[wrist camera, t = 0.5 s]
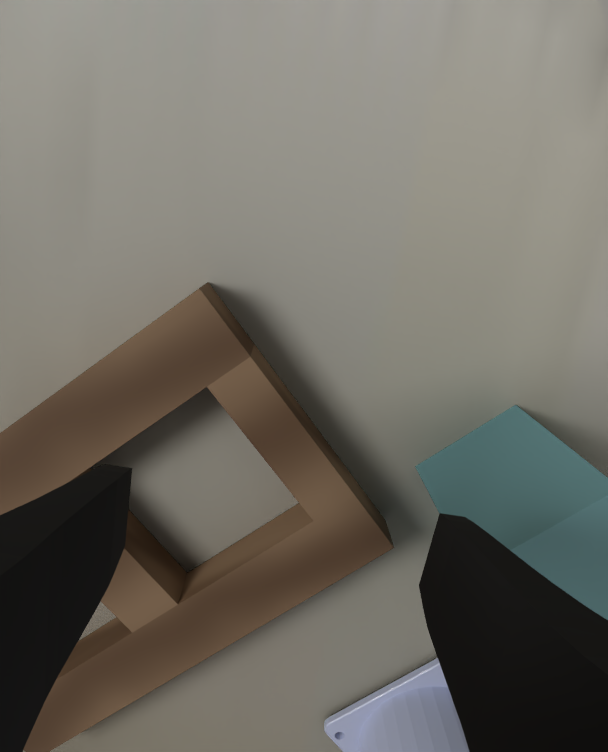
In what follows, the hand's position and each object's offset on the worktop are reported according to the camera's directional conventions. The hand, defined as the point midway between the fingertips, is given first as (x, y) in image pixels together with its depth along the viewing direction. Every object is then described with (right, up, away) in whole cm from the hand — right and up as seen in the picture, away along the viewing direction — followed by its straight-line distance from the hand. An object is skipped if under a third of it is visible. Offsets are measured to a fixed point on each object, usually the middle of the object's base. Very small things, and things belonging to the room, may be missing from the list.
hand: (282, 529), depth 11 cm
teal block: (+9, -1, +11) cm, 14 cm away
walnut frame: (-8, -3, +11) cm, 14 cm away
